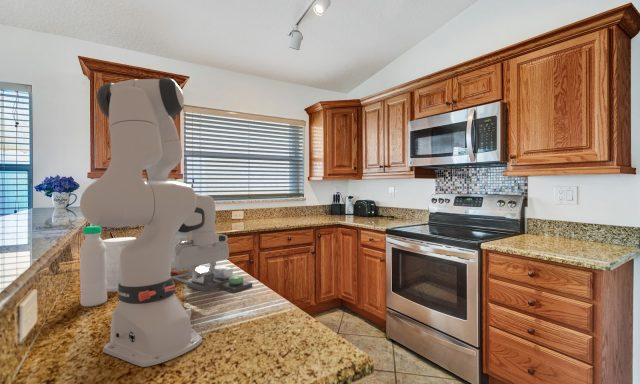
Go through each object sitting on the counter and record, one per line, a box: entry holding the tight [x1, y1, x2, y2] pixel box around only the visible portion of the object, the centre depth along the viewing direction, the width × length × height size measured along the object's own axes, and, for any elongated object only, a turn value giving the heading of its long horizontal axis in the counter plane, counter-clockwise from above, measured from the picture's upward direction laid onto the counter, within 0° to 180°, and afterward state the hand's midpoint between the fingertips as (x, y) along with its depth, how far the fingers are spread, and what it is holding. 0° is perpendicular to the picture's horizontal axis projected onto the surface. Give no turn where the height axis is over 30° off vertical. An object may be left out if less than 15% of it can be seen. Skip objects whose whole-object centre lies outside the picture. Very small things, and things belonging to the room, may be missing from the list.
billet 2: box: [213, 265, 234, 281], centre depth 120 cm, size 7×4×5 cm, turn 52°
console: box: [219, 280, 253, 293], centre depth 112 cm, size 8×8×2 cm
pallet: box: [186, 278, 229, 293], centre depth 117 cm, size 11×15×3 cm
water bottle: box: [78, 225, 108, 308], centre depth 101 cm, size 7×7×25 cm
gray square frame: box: [172, 272, 193, 285], centre depth 125 cm, size 12×12×2 cm
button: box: [229, 275, 244, 285], centre depth 112 cm, size 5×5×4 cm
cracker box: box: [171, 232, 200, 275], centre depth 135 cm, size 14×6×21 cm, turn 58°
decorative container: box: [102, 236, 137, 293], centre depth 118 cm, size 12×12×18 cm
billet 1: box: [191, 265, 214, 286], centre depth 114 cm, size 7×4×5 cm, turn 54°
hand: (203, 276), depth 114 cm, fingers open, 4 cm apart
